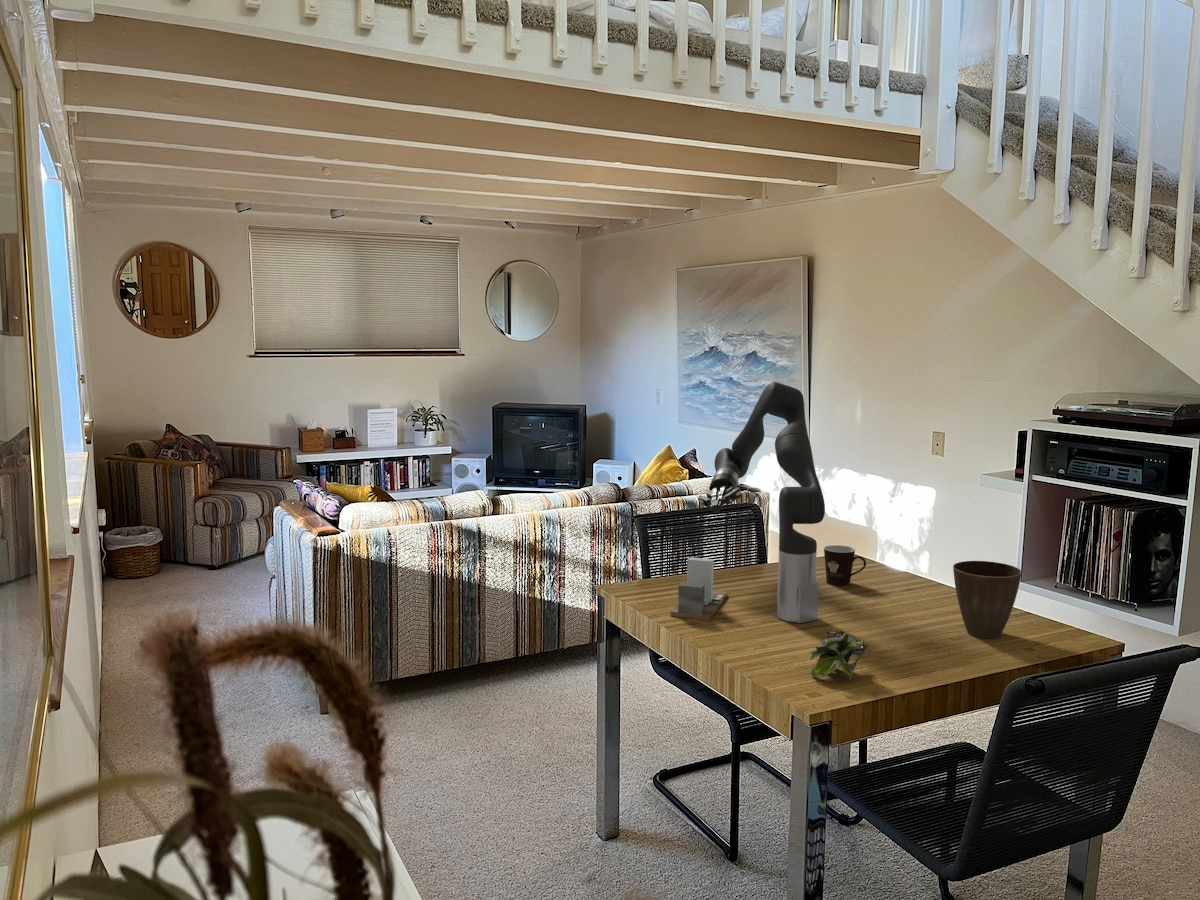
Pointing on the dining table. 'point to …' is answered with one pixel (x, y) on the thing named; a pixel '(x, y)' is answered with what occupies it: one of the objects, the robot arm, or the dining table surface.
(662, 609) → the dining table surface
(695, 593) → the board
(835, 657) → the passion flower
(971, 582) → the plant pot
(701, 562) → the panel
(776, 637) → the dining table surface
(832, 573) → the coffee mug
